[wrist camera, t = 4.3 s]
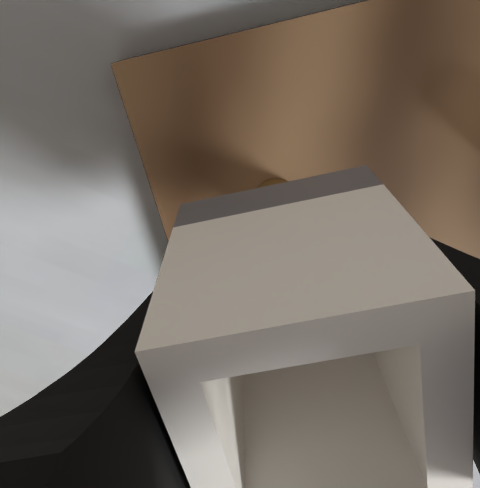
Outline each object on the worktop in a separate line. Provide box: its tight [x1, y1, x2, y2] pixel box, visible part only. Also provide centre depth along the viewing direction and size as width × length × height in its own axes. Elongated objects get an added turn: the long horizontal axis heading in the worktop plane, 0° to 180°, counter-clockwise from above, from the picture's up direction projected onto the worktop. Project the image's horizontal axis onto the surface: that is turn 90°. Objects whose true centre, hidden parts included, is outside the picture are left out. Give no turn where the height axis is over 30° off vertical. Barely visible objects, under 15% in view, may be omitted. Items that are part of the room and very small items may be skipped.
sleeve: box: [135, 165, 475, 488], centre depth 10 cm, size 5×5×6 cm
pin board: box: [111, 0, 480, 259], centre depth 16 cm, size 18×12×4 cm, turn 102°
